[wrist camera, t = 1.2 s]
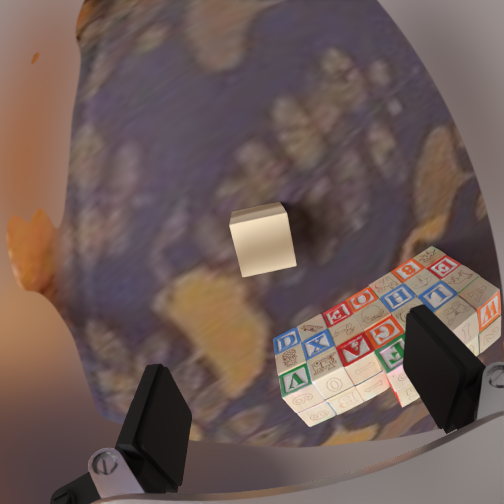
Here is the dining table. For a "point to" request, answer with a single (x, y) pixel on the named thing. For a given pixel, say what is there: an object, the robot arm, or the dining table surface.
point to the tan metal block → (262, 239)
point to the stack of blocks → (381, 335)
